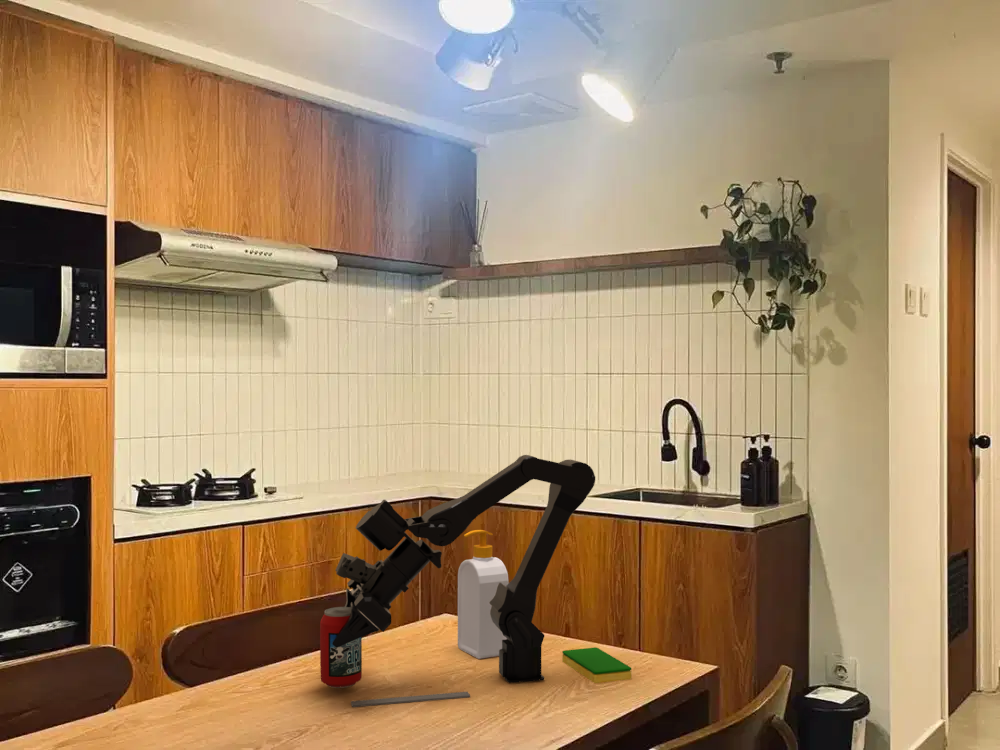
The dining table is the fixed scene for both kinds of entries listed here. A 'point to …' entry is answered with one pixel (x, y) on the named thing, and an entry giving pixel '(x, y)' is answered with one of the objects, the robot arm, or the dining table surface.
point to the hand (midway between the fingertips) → (332, 639)
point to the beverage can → (338, 651)
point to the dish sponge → (596, 665)
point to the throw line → (409, 699)
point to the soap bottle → (479, 600)
